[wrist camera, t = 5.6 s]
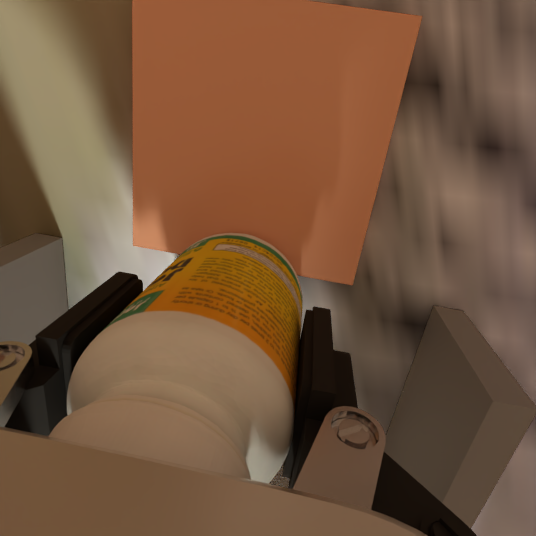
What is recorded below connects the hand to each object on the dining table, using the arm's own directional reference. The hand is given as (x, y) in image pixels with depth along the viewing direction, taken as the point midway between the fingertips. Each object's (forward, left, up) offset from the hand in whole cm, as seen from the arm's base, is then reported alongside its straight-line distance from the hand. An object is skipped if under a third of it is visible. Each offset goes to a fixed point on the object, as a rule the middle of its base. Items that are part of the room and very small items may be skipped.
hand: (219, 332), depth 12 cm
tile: (0, -6, -4) cm, 7 cm away
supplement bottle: (0, 0, -3) cm, 3 cm away
